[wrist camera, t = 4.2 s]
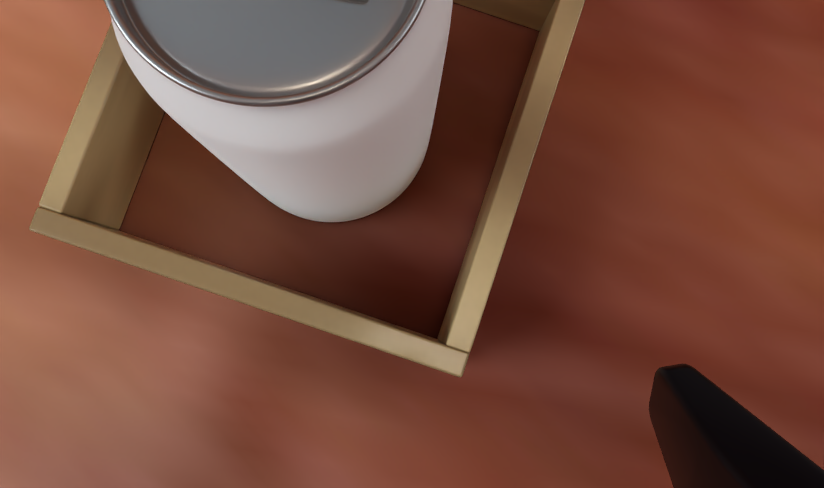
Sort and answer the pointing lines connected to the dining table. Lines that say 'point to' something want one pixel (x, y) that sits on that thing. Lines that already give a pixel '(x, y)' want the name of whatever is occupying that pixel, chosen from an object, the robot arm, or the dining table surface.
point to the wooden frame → (99, 232)
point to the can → (297, 90)
